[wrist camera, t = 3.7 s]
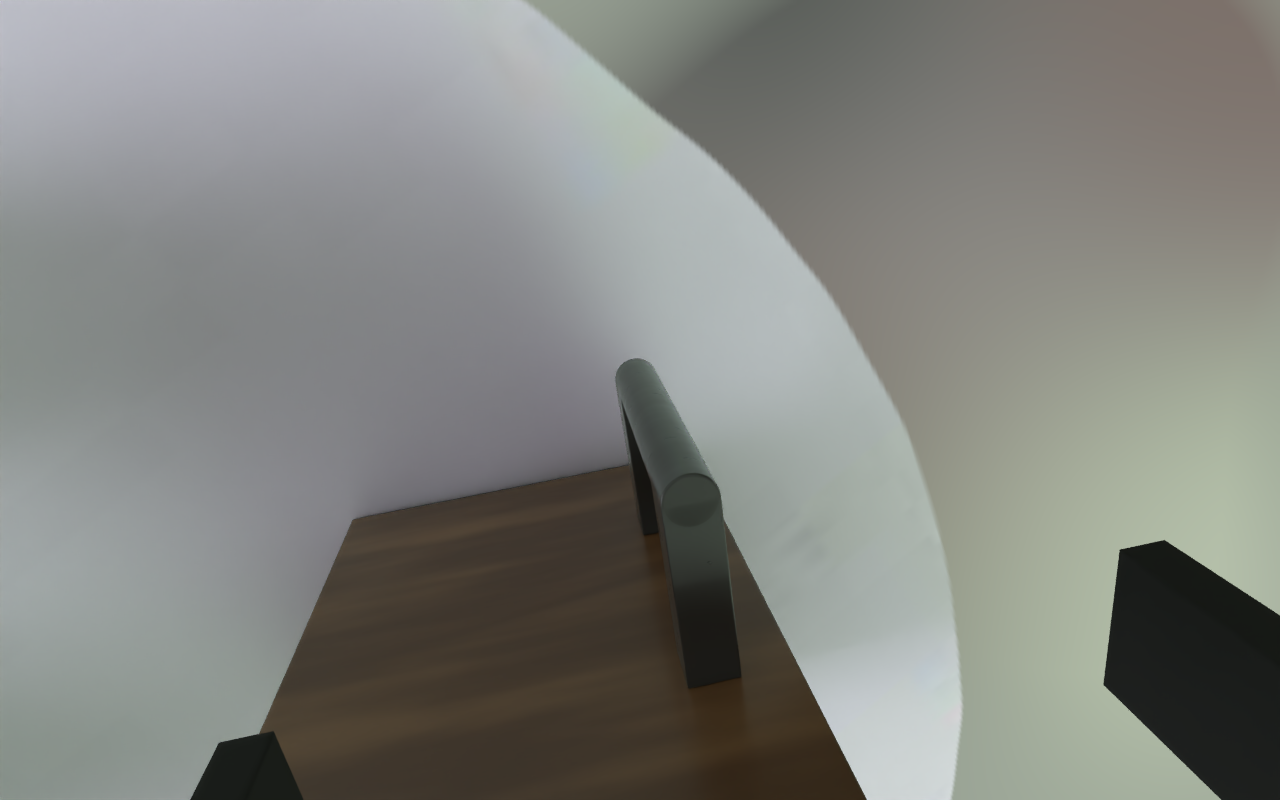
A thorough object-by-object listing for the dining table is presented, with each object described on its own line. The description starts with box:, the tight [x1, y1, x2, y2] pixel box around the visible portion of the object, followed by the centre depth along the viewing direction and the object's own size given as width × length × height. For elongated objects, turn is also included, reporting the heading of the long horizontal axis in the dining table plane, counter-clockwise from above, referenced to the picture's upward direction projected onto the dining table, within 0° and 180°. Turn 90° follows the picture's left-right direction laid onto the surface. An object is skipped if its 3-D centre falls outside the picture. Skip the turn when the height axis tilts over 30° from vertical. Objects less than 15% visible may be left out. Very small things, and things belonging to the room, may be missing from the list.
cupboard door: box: [259, 358, 867, 800], centre depth 24 cm, size 8×16×20 cm, turn 98°
